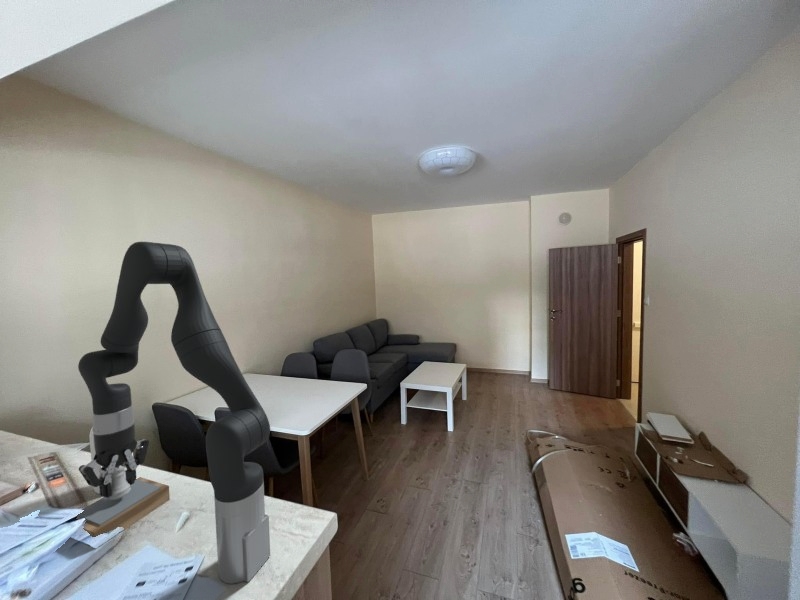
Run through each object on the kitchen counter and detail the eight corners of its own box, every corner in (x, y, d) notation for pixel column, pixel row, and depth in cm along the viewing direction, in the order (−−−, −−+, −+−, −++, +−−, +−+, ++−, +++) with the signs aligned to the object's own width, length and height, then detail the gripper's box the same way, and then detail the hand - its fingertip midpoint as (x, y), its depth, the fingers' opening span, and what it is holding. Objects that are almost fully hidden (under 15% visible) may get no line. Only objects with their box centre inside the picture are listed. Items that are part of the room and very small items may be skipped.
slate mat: (160, 488, 81) (160, 486, 81) (100, 526, 68) (99, 524, 68) (136, 481, 84) (136, 479, 84) (74, 515, 72) (74, 513, 72)
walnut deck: (169, 499, 82) (168, 485, 82) (95, 549, 67) (94, 532, 67) (141, 490, 86) (140, 477, 86) (64, 535, 71) (63, 519, 70)
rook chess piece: (127, 486, 79) (125, 457, 79) (133, 492, 77) (131, 462, 76) (104, 496, 75) (102, 466, 75) (110, 503, 73) (108, 472, 72)
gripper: (86, 443, 67) (92, 514, 68) (155, 415, 80) (159, 475, 82) (66, 438, 69) (73, 506, 70) (137, 412, 83) (141, 470, 84)
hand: (119, 489), depth 76 cm, fingers closed on rook chess piece, 4 cm apart
